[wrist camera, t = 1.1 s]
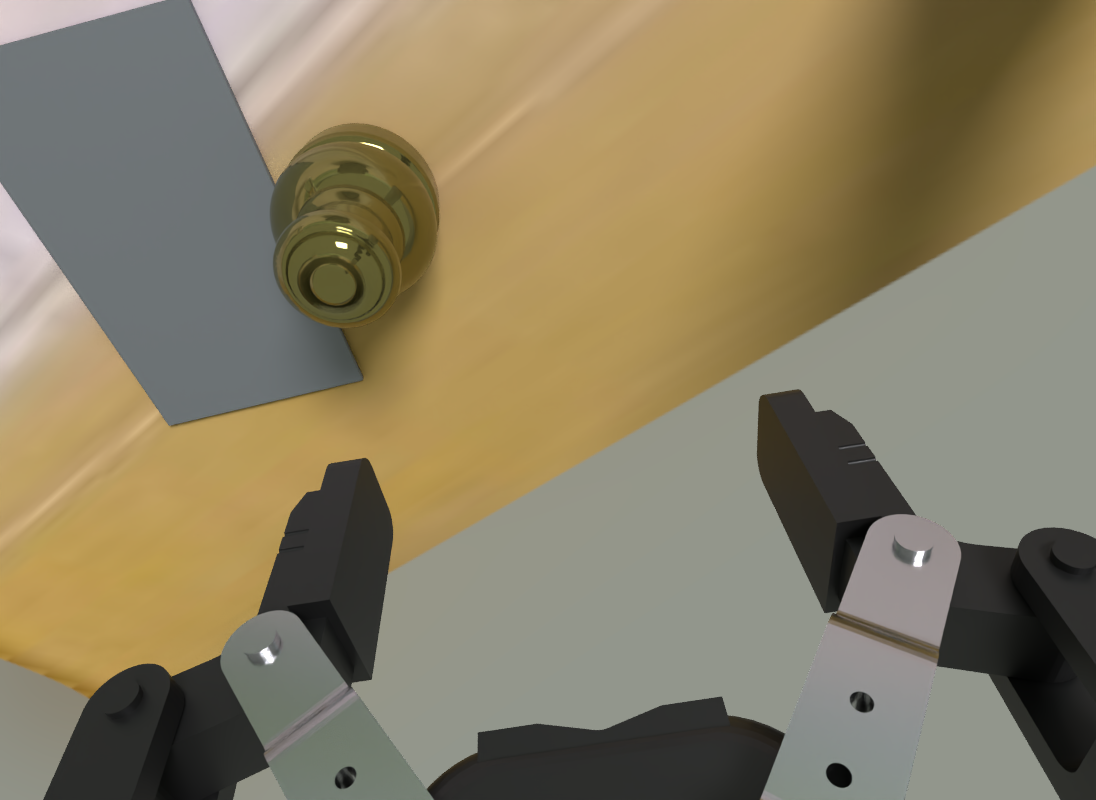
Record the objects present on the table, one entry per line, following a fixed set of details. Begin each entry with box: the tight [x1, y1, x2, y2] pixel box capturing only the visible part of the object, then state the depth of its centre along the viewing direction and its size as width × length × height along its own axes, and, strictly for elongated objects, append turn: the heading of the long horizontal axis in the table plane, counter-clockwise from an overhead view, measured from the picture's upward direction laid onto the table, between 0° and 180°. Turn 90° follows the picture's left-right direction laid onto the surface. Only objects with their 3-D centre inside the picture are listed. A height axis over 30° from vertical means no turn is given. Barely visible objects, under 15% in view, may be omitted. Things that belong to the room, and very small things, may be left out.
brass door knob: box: [270, 123, 439, 328], centre depth 31 cm, size 7×7×10 cm
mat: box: [0, 0, 363, 426], centre depth 35 cm, size 12×20×1 cm, turn 12°
